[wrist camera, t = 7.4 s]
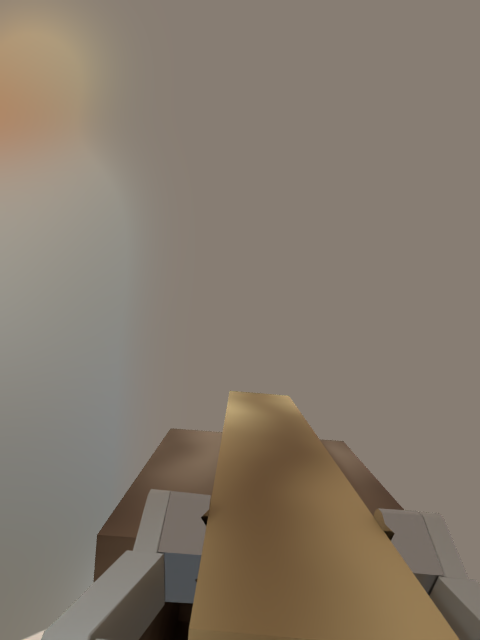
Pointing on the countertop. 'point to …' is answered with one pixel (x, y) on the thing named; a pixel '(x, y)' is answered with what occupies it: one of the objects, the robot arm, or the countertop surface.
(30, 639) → the countertop surface
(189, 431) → the walnut shelf
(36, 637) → the countertop surface
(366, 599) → the ochre block
